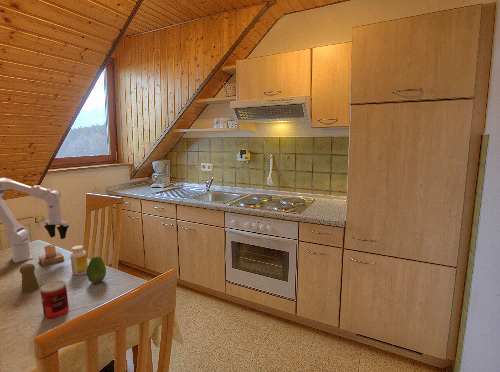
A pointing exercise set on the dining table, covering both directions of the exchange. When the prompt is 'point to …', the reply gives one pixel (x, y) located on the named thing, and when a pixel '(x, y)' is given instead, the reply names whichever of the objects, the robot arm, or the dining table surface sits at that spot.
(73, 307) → the dining table surface
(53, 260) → the walnut board
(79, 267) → the supplement bottle
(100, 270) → the fruit
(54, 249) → the tan rounded cylinder
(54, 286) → the canned food
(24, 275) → the cork
